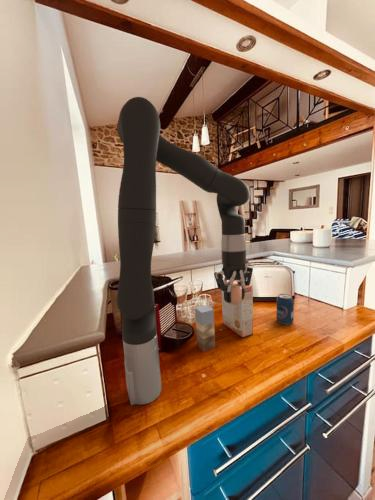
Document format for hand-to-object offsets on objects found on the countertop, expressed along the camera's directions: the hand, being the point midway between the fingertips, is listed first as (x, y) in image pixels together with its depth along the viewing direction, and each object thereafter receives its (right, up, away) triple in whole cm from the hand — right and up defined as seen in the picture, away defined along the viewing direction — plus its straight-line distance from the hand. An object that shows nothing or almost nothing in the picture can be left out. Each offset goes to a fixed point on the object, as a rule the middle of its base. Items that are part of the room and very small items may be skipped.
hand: (234, 300), depth 69 cm
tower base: (-8, -20, +12) cm, 25 cm away
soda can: (+29, -16, +27) cm, 42 cm away
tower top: (-9, -10, +10) cm, 17 cm away
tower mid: (-9, -15, +11) cm, 21 cm away
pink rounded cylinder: (0, -1, 0) cm, 1 cm away
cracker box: (+6, -18, +23) cm, 30 cm away
